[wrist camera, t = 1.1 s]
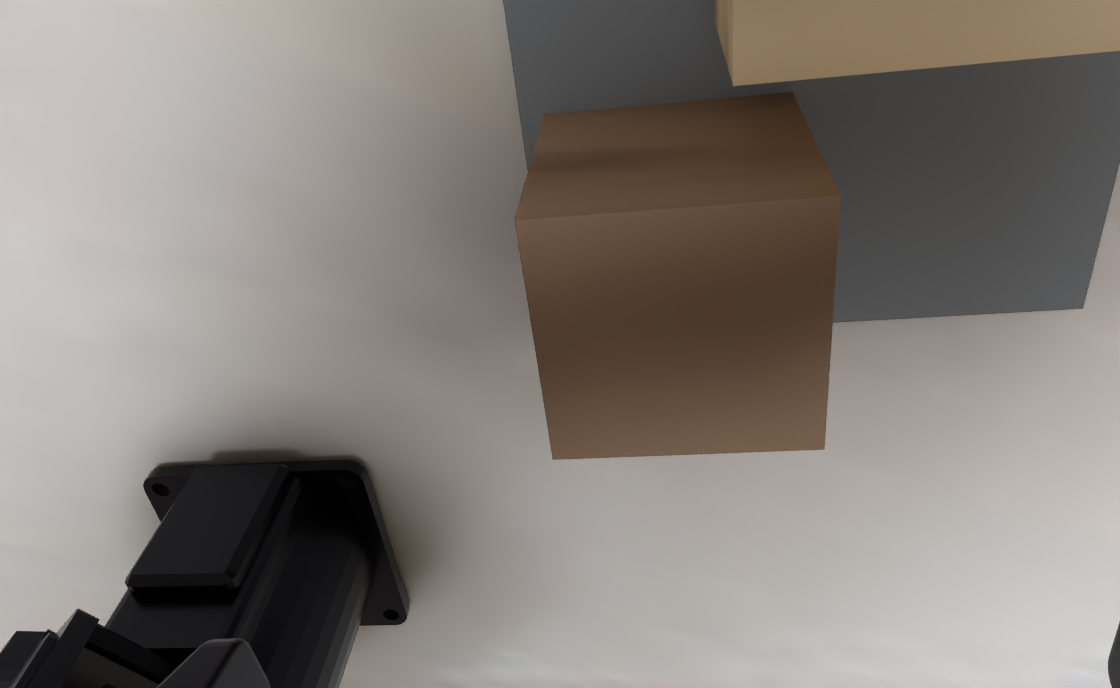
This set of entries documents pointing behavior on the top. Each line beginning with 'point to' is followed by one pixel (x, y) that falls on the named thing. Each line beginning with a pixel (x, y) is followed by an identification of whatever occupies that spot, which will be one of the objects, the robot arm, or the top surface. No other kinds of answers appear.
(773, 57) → the oak base block
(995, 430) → the top surface
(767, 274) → the walnut cube
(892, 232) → the mat
